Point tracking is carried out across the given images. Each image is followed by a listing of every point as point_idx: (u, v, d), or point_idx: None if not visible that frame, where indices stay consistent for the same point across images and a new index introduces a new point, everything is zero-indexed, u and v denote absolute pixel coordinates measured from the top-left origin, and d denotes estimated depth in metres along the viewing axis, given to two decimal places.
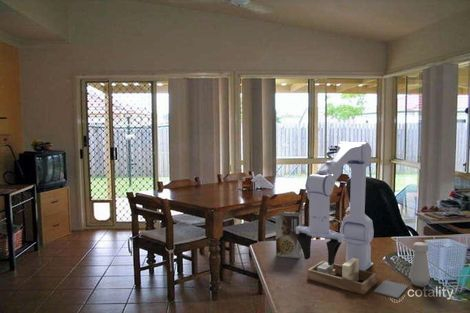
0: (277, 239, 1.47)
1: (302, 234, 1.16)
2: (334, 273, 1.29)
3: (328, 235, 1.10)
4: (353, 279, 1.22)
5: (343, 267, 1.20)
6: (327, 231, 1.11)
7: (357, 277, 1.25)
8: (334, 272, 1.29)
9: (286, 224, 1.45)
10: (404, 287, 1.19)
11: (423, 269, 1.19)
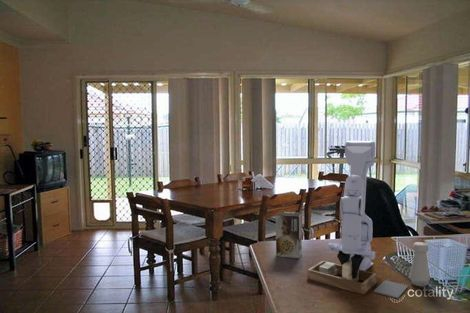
0: (277, 239, 1.47)
1: None
2: (336, 273, 1.30)
3: (360, 252, 1.18)
4: (353, 279, 1.22)
5: (343, 267, 1.20)
6: (359, 248, 1.20)
7: (357, 277, 1.25)
8: (336, 271, 1.30)
9: (286, 224, 1.45)
10: (404, 287, 1.19)
11: (423, 268, 1.19)
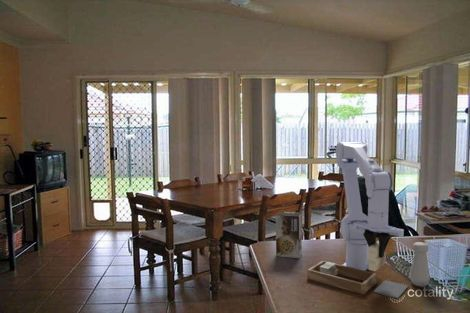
0: (277, 239, 1.47)
1: (360, 229, 1.21)
2: (337, 273, 1.30)
3: (388, 230, 1.14)
4: (380, 262, 1.18)
5: (370, 249, 1.16)
6: (386, 226, 1.16)
7: (384, 260, 1.21)
8: (337, 271, 1.30)
9: (286, 224, 1.45)
10: (404, 287, 1.19)
11: (423, 269, 1.19)
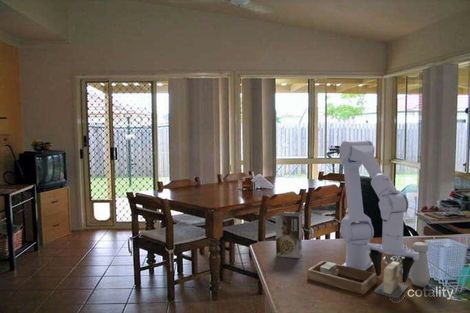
0: (277, 239, 1.47)
1: (374, 251, 1.20)
2: (337, 273, 1.30)
3: (403, 253, 1.13)
4: (394, 284, 1.17)
5: (385, 271, 1.15)
6: (401, 249, 1.15)
7: (398, 282, 1.20)
8: (338, 271, 1.30)
9: (286, 224, 1.45)
10: (404, 287, 1.19)
11: (423, 268, 1.19)
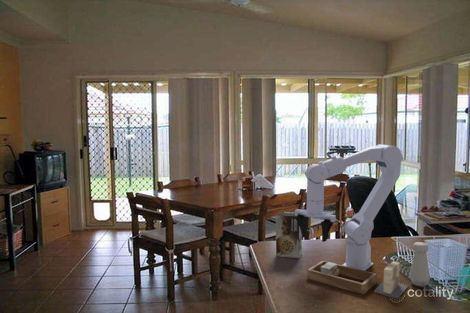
0: (277, 239, 1.47)
1: (300, 216, 1.36)
2: (338, 273, 1.29)
3: (322, 216, 1.30)
4: (394, 284, 1.17)
5: (385, 271, 1.15)
6: (321, 213, 1.32)
7: (398, 282, 1.20)
8: (338, 271, 1.30)
9: (286, 224, 1.45)
10: (404, 287, 1.19)
11: (423, 268, 1.19)
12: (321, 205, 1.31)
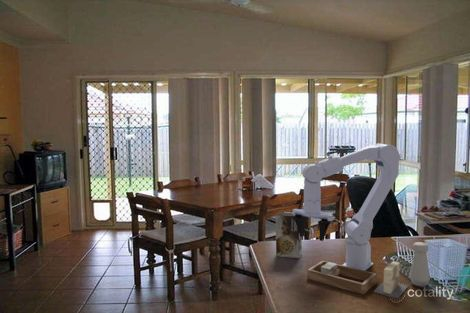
0: (277, 239, 1.47)
1: (298, 215, 1.37)
2: (338, 273, 1.29)
3: (319, 215, 1.31)
4: (394, 284, 1.17)
5: (385, 271, 1.15)
6: (319, 212, 1.33)
7: (398, 282, 1.20)
8: (338, 271, 1.29)
9: (286, 224, 1.45)
10: (404, 287, 1.19)
11: (423, 269, 1.19)
12: (318, 204, 1.32)
